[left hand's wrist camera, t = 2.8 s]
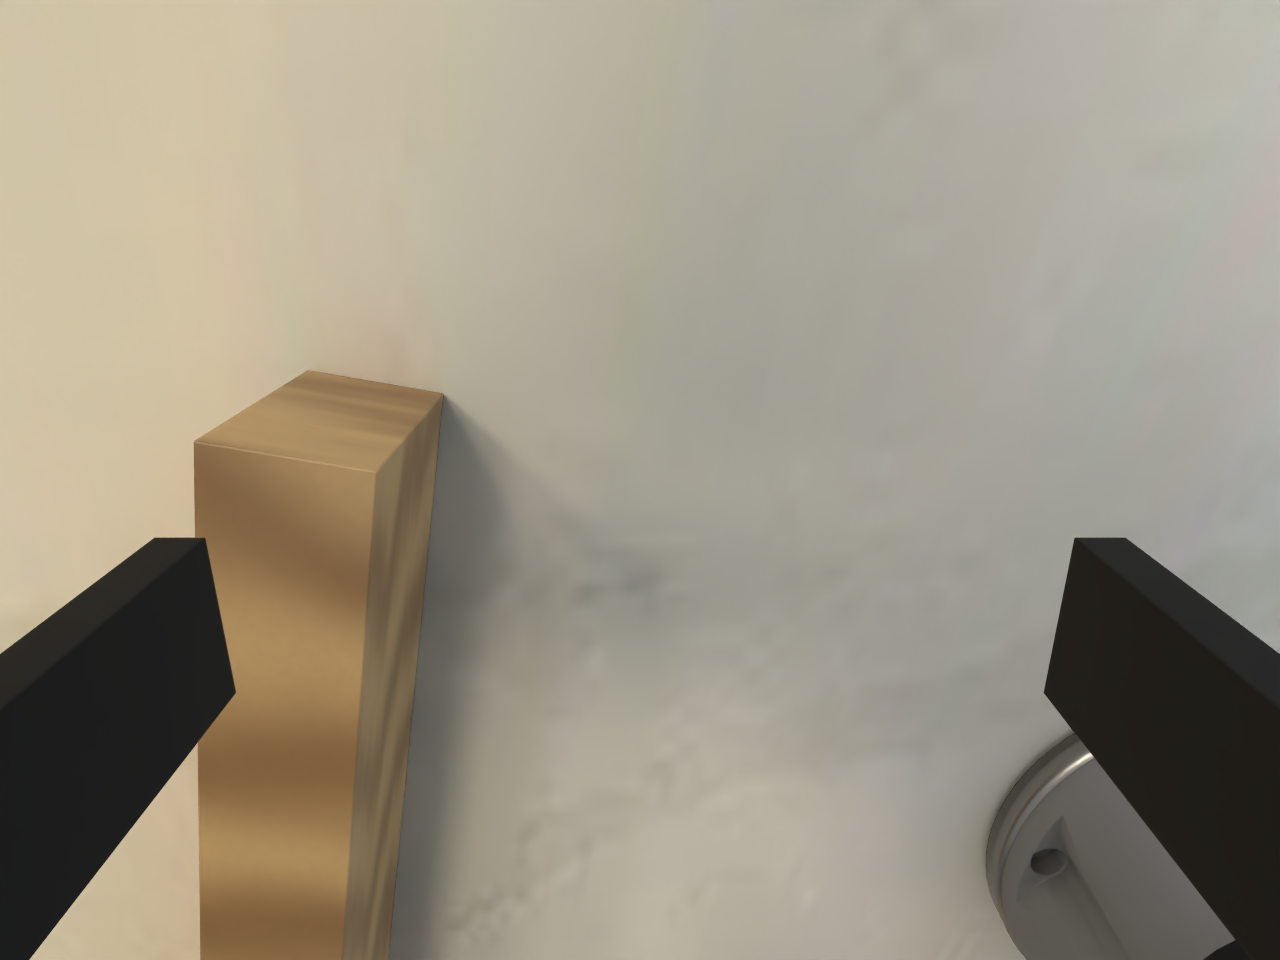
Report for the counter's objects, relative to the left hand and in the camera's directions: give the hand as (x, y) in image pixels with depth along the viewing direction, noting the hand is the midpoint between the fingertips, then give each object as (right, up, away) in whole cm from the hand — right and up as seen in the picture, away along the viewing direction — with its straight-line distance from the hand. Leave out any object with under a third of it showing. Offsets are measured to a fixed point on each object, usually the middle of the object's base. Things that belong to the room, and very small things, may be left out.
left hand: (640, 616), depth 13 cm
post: (-14, -18, +25) cm, 34 cm away
